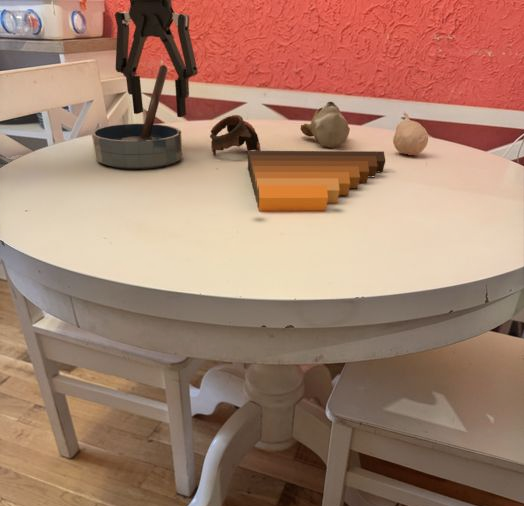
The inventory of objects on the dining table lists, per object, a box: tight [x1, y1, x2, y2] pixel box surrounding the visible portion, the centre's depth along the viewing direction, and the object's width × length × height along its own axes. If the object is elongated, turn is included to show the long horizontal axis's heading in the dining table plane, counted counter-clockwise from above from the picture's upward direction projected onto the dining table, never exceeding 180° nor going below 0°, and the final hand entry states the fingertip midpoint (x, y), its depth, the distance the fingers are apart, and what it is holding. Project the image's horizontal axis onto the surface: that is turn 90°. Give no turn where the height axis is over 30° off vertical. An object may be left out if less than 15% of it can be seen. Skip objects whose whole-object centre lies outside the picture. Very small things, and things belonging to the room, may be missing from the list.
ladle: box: [121, 64, 168, 141], centre depth 96 cm, size 18×6×14 cm, turn 165°
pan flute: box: [247, 150, 386, 212], centre depth 83 cm, size 25×3×25 cm
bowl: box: [91, 123, 184, 170], centre depth 94 cm, size 16×16×5 cm
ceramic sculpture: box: [300, 101, 351, 149], centre depth 110 cm, size 11×9×15 cm
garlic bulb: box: [392, 111, 429, 156], centre depth 103 cm, size 7×6×8 cm
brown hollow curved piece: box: [209, 114, 262, 156], centre depth 100 cm, size 12×10×8 cm
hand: (159, 114), depth 101 cm, fingers open, 9 cm apart
